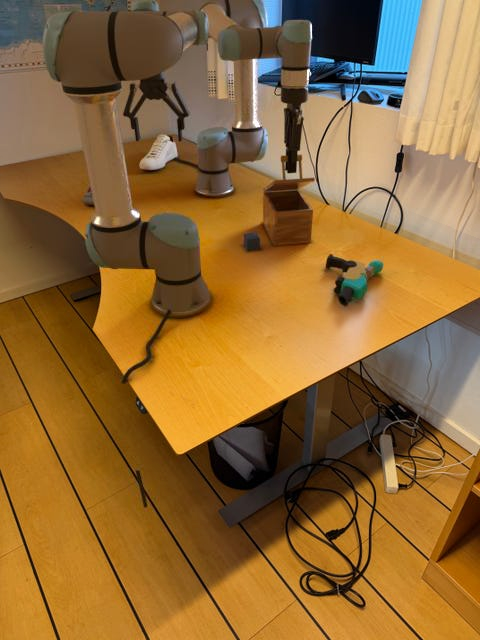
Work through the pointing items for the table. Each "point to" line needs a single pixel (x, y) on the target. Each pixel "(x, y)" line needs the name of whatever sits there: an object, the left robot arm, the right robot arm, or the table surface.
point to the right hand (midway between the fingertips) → (290, 171)
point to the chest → (287, 217)
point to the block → (251, 241)
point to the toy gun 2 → (352, 277)
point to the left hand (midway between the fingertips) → (159, 140)
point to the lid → (290, 183)
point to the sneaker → (160, 153)
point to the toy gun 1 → (88, 198)
